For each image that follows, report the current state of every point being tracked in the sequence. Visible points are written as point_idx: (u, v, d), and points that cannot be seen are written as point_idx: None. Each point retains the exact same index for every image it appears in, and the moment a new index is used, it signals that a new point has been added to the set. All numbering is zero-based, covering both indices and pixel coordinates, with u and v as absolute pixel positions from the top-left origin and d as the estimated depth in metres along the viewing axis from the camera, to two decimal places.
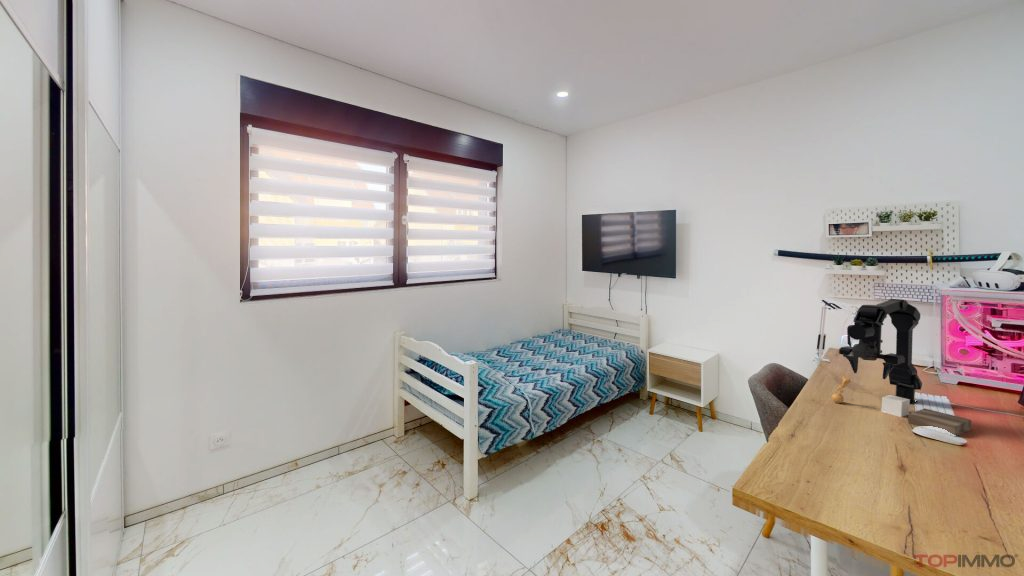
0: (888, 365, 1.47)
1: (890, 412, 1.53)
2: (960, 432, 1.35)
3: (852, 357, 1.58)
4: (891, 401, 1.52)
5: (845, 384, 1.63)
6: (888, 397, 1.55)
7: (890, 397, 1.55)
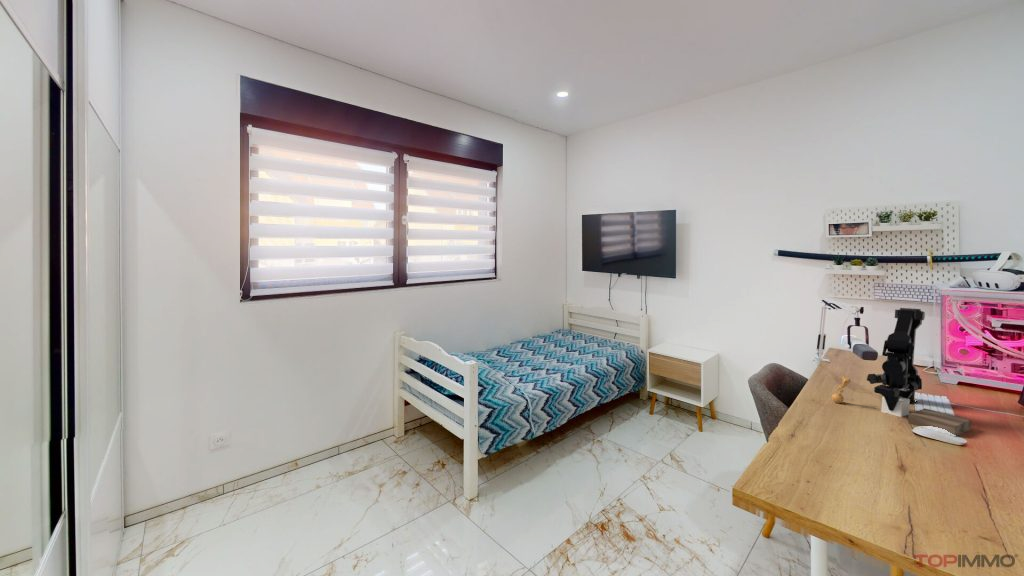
0: None
1: (890, 412, 1.53)
2: (960, 432, 1.35)
3: None
4: None
5: (845, 384, 1.63)
6: None
7: None
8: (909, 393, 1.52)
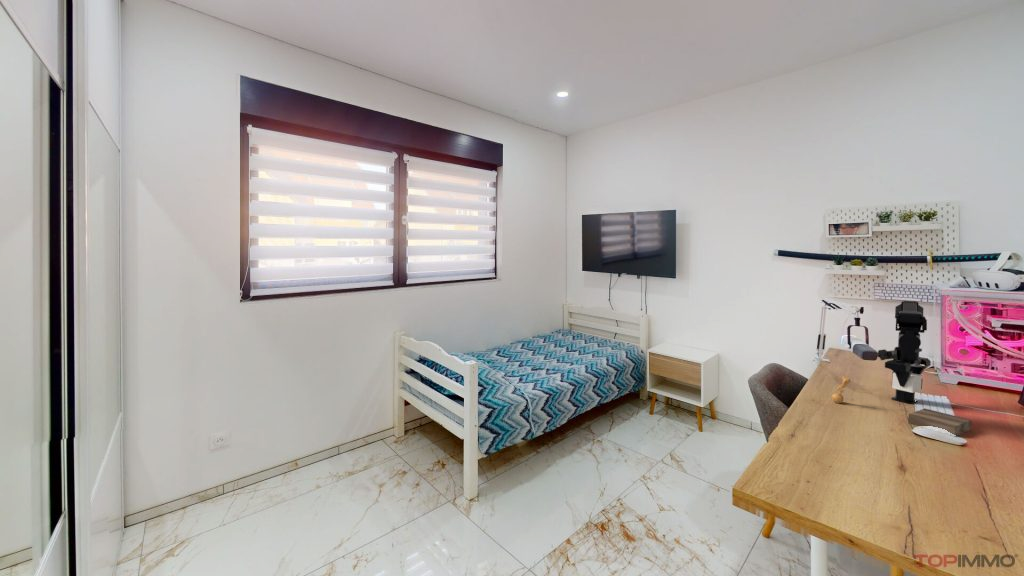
0: None
1: (901, 388, 1.49)
2: (960, 432, 1.35)
3: None
4: None
5: (845, 384, 1.63)
6: None
7: None
8: (921, 369, 1.48)
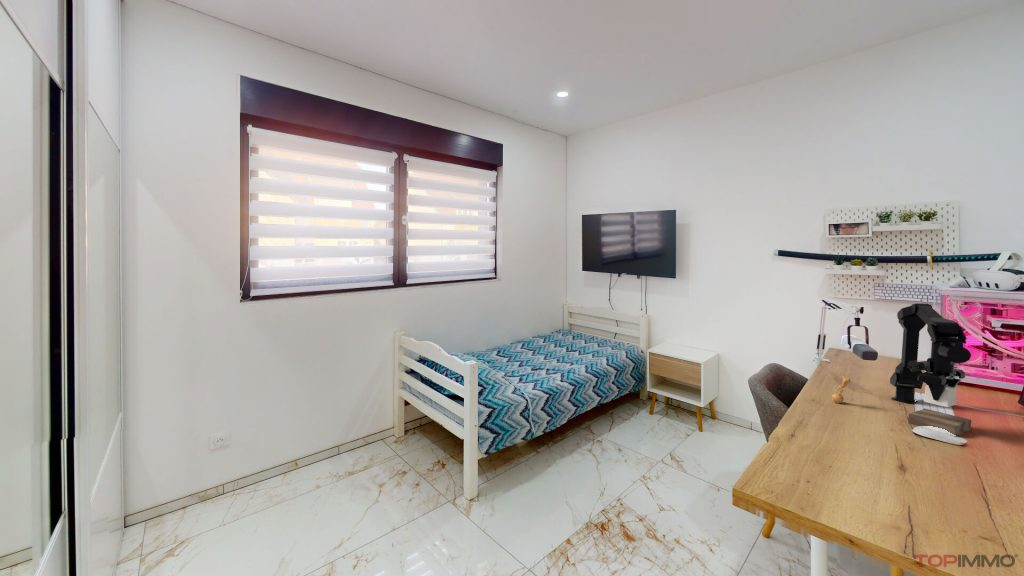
0: None
1: (935, 402, 1.40)
2: (960, 432, 1.35)
3: None
4: None
5: (845, 384, 1.63)
6: None
7: None
8: (956, 381, 1.39)
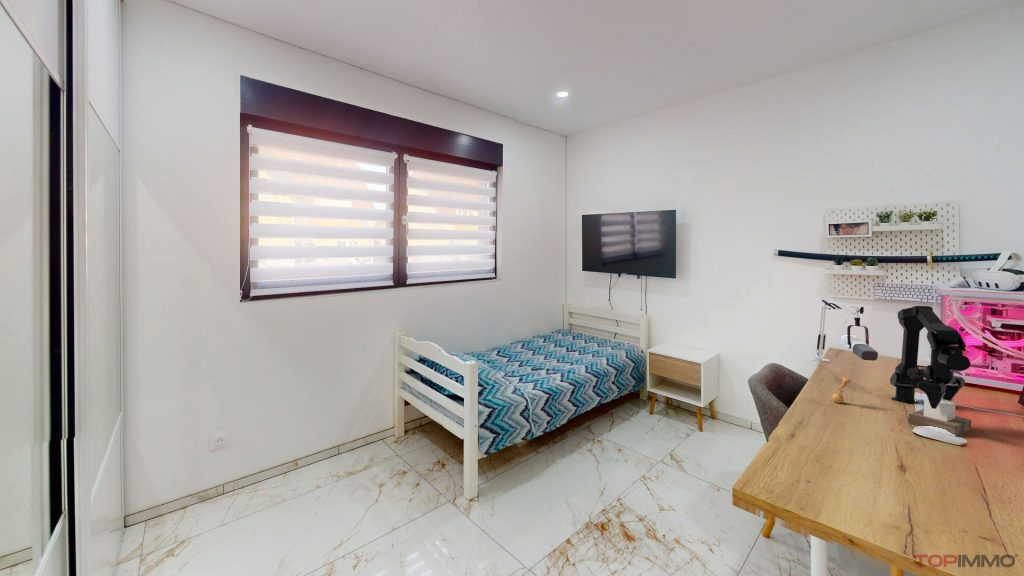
0: None
1: (934, 416, 1.40)
2: (960, 432, 1.35)
3: None
4: None
5: (845, 384, 1.63)
6: None
7: None
8: (957, 388, 1.40)
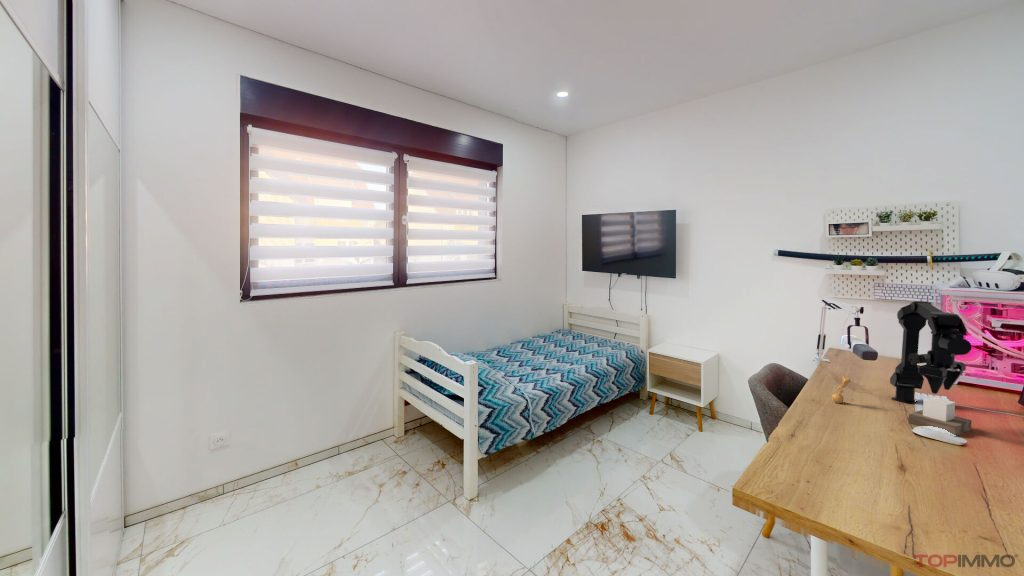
0: None
1: (933, 416, 1.40)
2: (960, 432, 1.35)
3: None
4: (934, 404, 1.40)
5: (845, 384, 1.63)
6: (930, 399, 1.42)
7: (933, 399, 1.42)
8: (958, 373, 1.40)
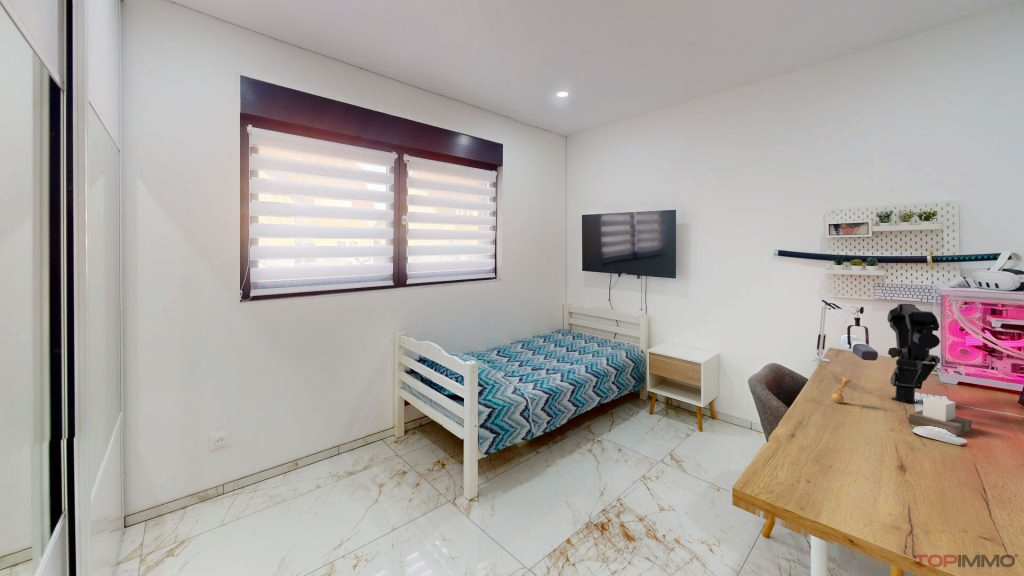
0: None
1: (933, 415, 1.40)
2: (961, 432, 1.35)
3: None
4: (934, 404, 1.40)
5: (845, 384, 1.63)
6: (930, 399, 1.42)
7: (933, 399, 1.42)
8: (933, 365, 1.53)
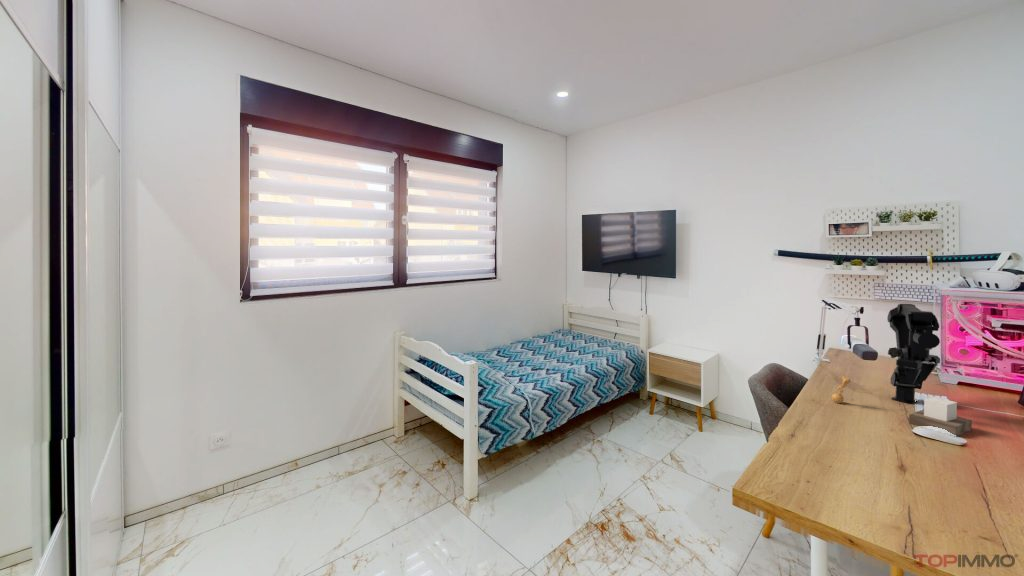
0: None
1: (934, 416, 1.40)
2: (961, 432, 1.35)
3: None
4: (935, 404, 1.40)
5: (845, 384, 1.63)
6: (932, 399, 1.42)
7: (934, 399, 1.42)
8: (933, 365, 1.53)
